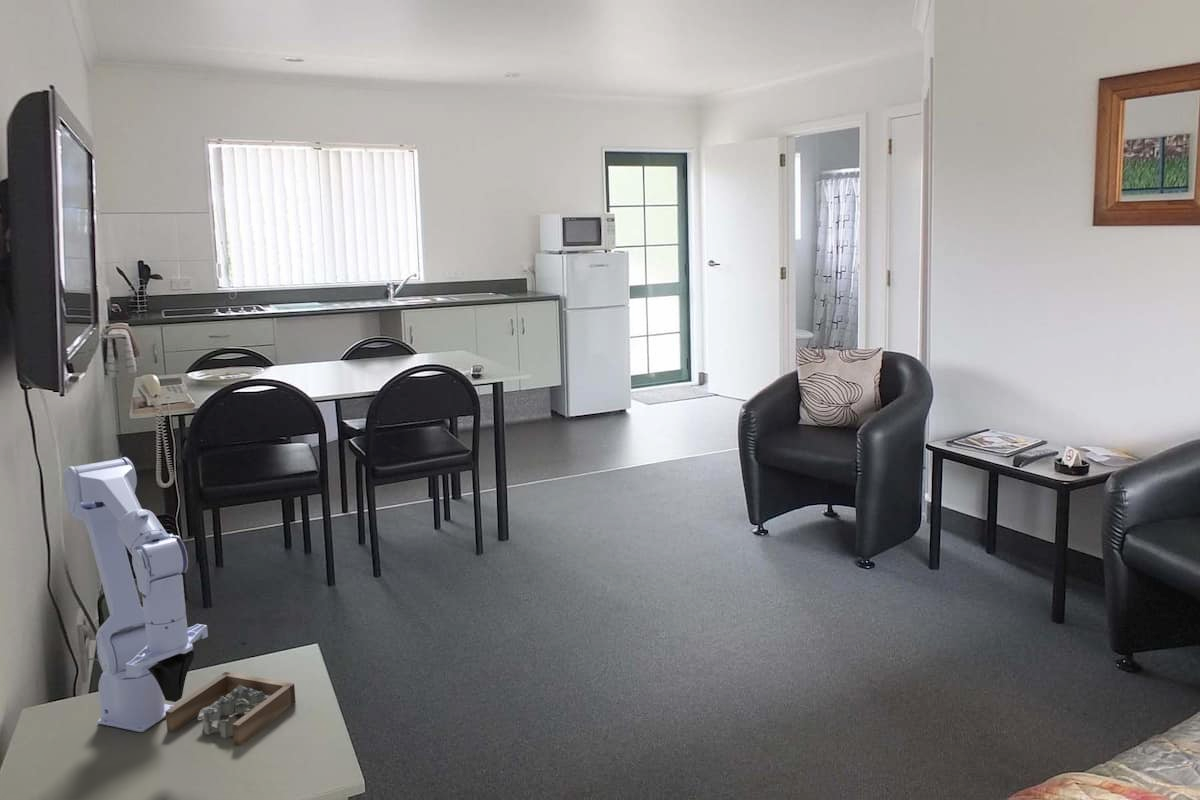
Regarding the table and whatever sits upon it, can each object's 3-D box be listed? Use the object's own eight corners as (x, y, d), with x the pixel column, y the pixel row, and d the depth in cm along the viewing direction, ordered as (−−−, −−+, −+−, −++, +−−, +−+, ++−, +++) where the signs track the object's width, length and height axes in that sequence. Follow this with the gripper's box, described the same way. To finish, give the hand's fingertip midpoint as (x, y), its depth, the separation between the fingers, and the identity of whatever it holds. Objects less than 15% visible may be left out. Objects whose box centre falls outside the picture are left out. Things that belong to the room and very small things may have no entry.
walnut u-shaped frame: (167, 731, 150) (165, 711, 150) (227, 690, 164) (225, 671, 163) (240, 745, 146) (238, 725, 145) (295, 702, 159) (294, 683, 159)
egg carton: (229, 742, 148) (227, 719, 147) (194, 733, 150) (192, 710, 150) (276, 710, 157) (274, 688, 157) (241, 701, 160) (240, 680, 159)
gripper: (149, 640, 132) (158, 727, 134) (220, 601, 145) (227, 681, 148) (111, 633, 134) (120, 719, 136) (184, 596, 147) (191, 674, 150)
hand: (173, 699), depth 142 cm, fingers closed
